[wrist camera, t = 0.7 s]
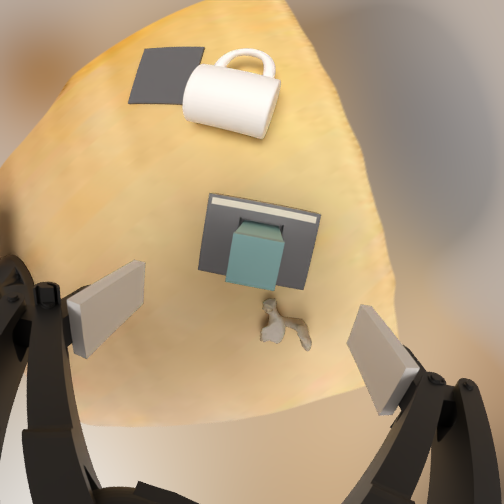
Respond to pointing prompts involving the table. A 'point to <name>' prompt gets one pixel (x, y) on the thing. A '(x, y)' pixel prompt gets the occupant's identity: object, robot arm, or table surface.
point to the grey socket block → (239, 209)
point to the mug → (233, 95)
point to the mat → (164, 75)
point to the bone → (283, 326)
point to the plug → (255, 255)
